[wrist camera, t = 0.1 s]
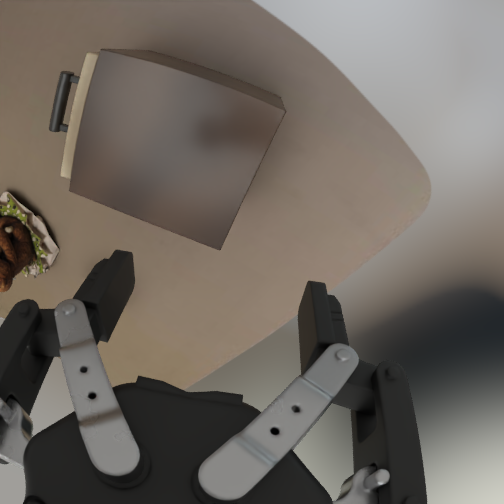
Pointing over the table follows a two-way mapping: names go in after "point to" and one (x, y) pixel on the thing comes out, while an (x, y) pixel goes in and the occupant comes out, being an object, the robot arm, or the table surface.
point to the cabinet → (172, 142)
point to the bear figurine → (22, 242)
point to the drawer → (77, 109)
